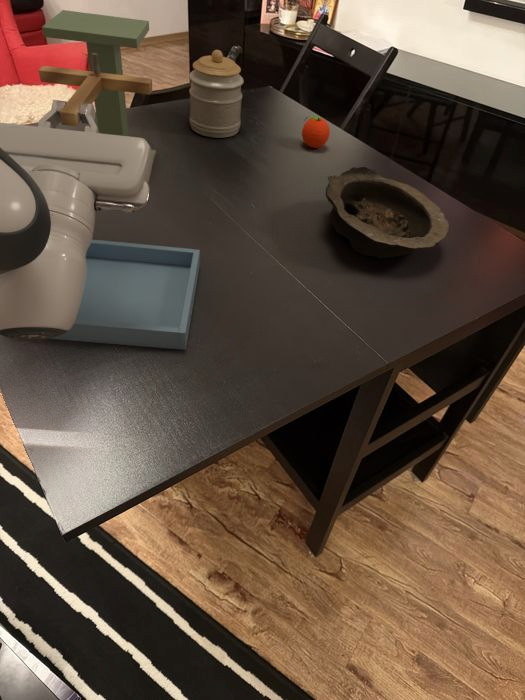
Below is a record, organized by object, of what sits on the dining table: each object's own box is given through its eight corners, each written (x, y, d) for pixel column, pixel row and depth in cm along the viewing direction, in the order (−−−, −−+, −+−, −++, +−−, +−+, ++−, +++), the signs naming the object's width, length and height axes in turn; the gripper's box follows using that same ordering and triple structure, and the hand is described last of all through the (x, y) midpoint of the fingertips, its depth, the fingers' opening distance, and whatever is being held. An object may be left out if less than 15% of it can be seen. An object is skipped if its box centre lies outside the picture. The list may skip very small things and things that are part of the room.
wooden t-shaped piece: (5, 118, 57) (-5, 83, 54) (45, 77, 68) (38, 45, 65) (132, 132, 58) (129, 98, 55) (152, 89, 69) (150, 59, 66)
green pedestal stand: (70, 171, 100) (41, 26, 81) (85, 146, 109) (62, 9, 90) (147, 179, 101) (136, 38, 83) (156, 154, 110) (148, 20, 91)
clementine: (291, 142, 122) (295, 113, 117) (309, 136, 125) (314, 108, 120) (313, 155, 118) (319, 125, 113) (332, 149, 122) (338, 120, 117)
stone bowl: (294, 209, 99) (304, 166, 93) (392, 206, 108) (408, 166, 102) (350, 282, 84) (367, 236, 77) (459, 270, 93) (483, 229, 87)
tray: (44, 338, 68) (39, 320, 66) (82, 255, 82) (79, 238, 79) (185, 350, 70) (185, 333, 67) (199, 266, 83) (199, 249, 81)
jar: (187, 116, 126) (186, 39, 113) (236, 118, 128) (241, 43, 116) (191, 138, 117) (191, 57, 104) (243, 139, 120) (249, 61, 107)
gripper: (142, 200, 53) (156, 95, 57) (-48, 181, 52) (-22, 75, 55) (150, 227, 60) (162, 131, 63) (-20, 211, 58) (2, 114, 61)
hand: (74, 105), depth 59 cm, fingers closed on wooden t-shaped piece, 2 cm apart
